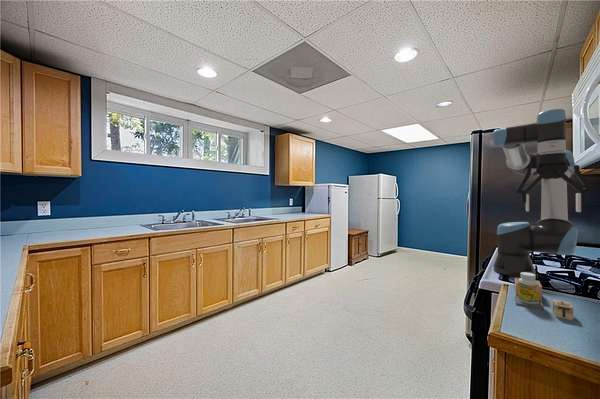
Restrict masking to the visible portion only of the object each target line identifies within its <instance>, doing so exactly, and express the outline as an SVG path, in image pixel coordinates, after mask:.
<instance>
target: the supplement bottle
mask: <svg viewBox="0 0 600 399" xmlns="http://www.w3.org/2000/svg"><path fill="white" fill-rule="evenodd" d="M520 276H521V277H519V278H520V279H519V280H518V297H519V300H520V301H522V302H524V303H528V304H538V303H539V284H538V282H537V281H538V280H536V279H537V276H536V273H535V274H533V273H527V272H522V273H520Z"/></svg>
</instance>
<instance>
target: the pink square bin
mask: <svg viewBox="0 0 600 399" xmlns="http://www.w3.org/2000/svg"><path fill="white" fill-rule="evenodd" d="M520 278H521V277H514V292H515V296H518V280H519V279H520ZM536 281H537V282H538V284H539V300H541V302H543V286H542V284H541V282H540V280H536Z"/></svg>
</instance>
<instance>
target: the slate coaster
mask: <svg viewBox="0 0 600 399" xmlns="http://www.w3.org/2000/svg"><path fill="white" fill-rule="evenodd" d="M514 300H515V304H516V305H515V306H522V307H527V308H532V309H533V308H534V309H538V310H539V309H540V310H544V309H545V307H544V304H543V301H541V300H539V303H538V304H528V303H524V302H522V301H520V300H519V297H518V296H516V295H514Z"/></svg>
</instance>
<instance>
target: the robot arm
mask: <svg viewBox="0 0 600 399" xmlns="http://www.w3.org/2000/svg"><path fill="white" fill-rule="evenodd" d="M566 114H567V113H566V110H565V109H563V108H554V109H549V110H544V111H541V112H539V113H538V114H537V117H536V119H537V120H536V122H534V123H529V124H528V123H527V124H522V125H515V126H514V125H513V126H509V127H508V126H507V127H502V128H497V129H495V130H493V133H492V142H493V146H494V147H501V148H502V150H503V152H504V155H505V158H506V159H505V165H506V167H507V168H508V169H509V170H510V171H512V172H513V173H516V174H517V175H519V176H524V177H523V178H522V180H521V182H520V183H519V185H518V186H517V187H516V190H515V192H516V193H517V194H520V195H521V202H522V203H525V211H526V212H530V194H528V192H530V190H532V189H533V188H534V187H536V185H537V184H538V183H539V182H541V190H540V191H541V198H540V199H541V201H540V203H541V205H540V206H541V207H540V208H541V209H540V219H539V220H538V221H537V222H536V223H535V224H536V225H531V224H530V223H529V222H528V221H513V222H512V221H511V222H503V223H500V224H499V225H497V232H496V235H497V254H496V258H495V260H494V262H493V272H496V273H498V274H501V275H506V276H509V277H516V278H521V276H520V273H522V272H527V273H533V274H535V275H536V268H535V267H534V264H533V262H532V259H531V257H530V256H531V255H530V254H531V253H540V254H541V253H542V254H551V255H557V256H560V255H562V256H564V255H565V256H571V255H573V254H575V251H576V249H577V243H578V242H577V241H578V237H579V236H578V234H579V228H578V227H575V226H574V224H573V223H572V222H571V221H570V220H569V214H568V212H569V211H568V185H569V186H571V187H572V188H573V189H574V190H576V192H577V193H575V212H577V213H581V212H582V203H585V202H586V193H589V192H593V191H594V188H593V186H592V185H591V184H590V182H589V181H588V180H587V179H586V177H585V176H584V175H583V173H582V172H581V171H580V170H581V169H580V165H579V164H576V162H575V157H574V154H573V152H572V151H570V150H567V147H566V146H567V145H566V144H567V143H566V141H567V140H566V139H567V138H566V135H567V133H566V132H567V129H566V128H567V122H566V121H567V115H566ZM530 143H531V144H532V143H537V146H536V148H537V151H536V152H534V153H533V152H532V153H531V152H530V153H527V152H526V147H525V144H530ZM572 175H575V177H576V178H577V180H578V181H579V183H581V185H582V186H583V188H582V186H580V185H579V184H578V183H576V182H575V181H574V180H573V179H572V178H571V176H572ZM536 176H537V177H536ZM530 177H536V178H535V179H534V180H533V181H532V182H530V184H528V186H526V187H525V188H524V186H525V185H526V183H527V181H528V180H529V178H530ZM523 188H524V189H523Z"/></svg>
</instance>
